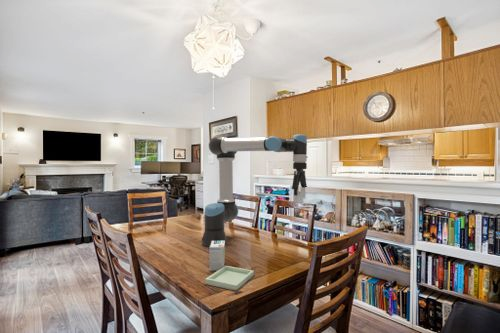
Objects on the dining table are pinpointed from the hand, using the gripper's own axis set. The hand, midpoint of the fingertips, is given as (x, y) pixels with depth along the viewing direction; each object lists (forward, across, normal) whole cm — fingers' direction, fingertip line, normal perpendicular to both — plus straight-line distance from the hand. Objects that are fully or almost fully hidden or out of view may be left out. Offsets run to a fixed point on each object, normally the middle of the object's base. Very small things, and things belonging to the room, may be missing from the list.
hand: (299, 199), depth 156 cm
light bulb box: (+28, -44, +26) cm, 58 cm away
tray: (+28, -54, +13) cm, 62 cm away
